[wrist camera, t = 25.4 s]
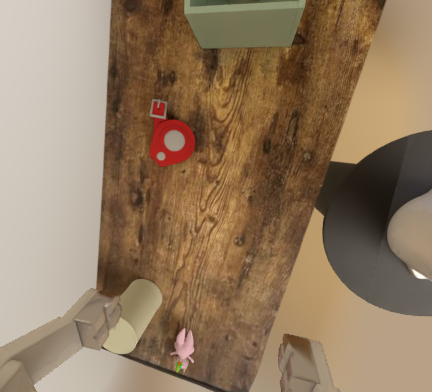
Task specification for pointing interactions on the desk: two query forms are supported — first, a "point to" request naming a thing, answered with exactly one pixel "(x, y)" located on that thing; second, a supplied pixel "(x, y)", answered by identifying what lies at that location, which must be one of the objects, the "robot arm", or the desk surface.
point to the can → (134, 315)
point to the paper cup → (241, 1)
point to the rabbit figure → (183, 350)
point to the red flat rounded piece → (169, 137)
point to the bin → (244, 22)
